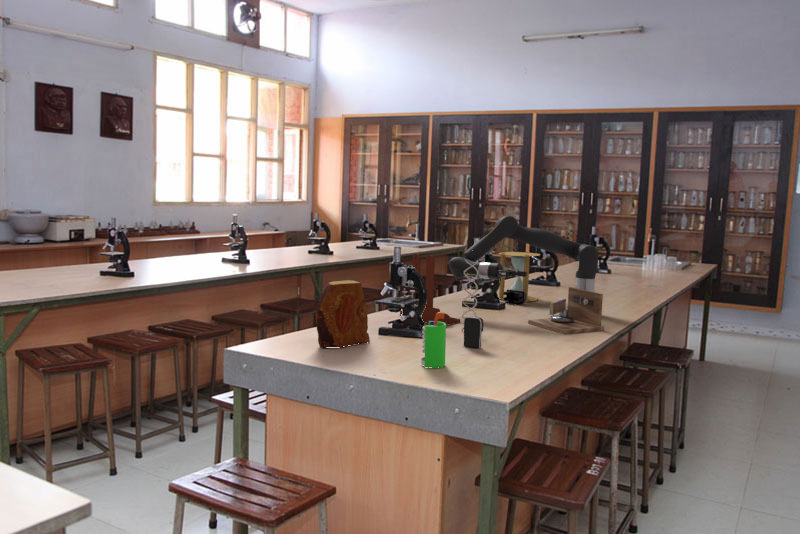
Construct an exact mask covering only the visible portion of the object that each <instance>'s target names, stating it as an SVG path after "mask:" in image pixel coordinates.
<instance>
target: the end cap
mask: <svg viewBox="0 0 800 534" xmlns="http://www.w3.org/2000/svg"><path fill="white" fill-rule="evenodd" d="M504 295H506V297H504V298H503V299H504V300H503V301H504V302H505V303H504V304H506V303H509V304H508V305H514V304H516V305H515V306H522V305H524V303H526V302H525V301H526V293H525V292H524V291H516V290H510V289H506V291H504ZM521 304H522V305H521Z"/></svg>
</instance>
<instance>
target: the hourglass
mask: <svg viewBox="0 0 800 534" xmlns="http://www.w3.org/2000/svg"><path fill="white" fill-rule="evenodd" d="M498 255H500V262H499V263H500V264H501V265H502V267H503V268H506V256H511V257H510V260H511V262H510V263H511V264H512V266H513V269H517V270H519V271H525V272H527V276H526V277H521V276H517V278H516V279H515V280H514V283H512V285H511V287H510V288H509V290H516V291H524V292H525V293H526V301H525V302H524V303H527V302H534V301H538V299H539V297H535V296H529V295H528V294H529V282H530V281H529V279H530V257H537V256H538V257H539V256H540V255H541V253H535V252H534V253H533V252H529V251H524V252H523V251H522V252H521V251H503V252H499V253H498ZM505 281H506V277H501V282H500V281H499V283H500V286H499V287H498V289H499V291H498V296H499V299H498V300H503V301H504V299H503V298H504V297H506V295H504V292H505V283H506V282H505Z"/></svg>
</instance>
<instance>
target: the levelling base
mask: <svg viewBox="0 0 800 534" xmlns="http://www.w3.org/2000/svg"><path fill="white" fill-rule="evenodd" d="M567 295H568V296H567V297H568V298H567V310H568V316H571V317H574V322H572V323H559V322H554V321H551V317H549V318H537V319H528V320H527V324H529V325H532V326H535V325H536V326H535V327H539V328H542V327H543V329H545V328H546V329H545V330H549V329H550V331H552V330H554V331H553V332H556V331H558V332H557V333H559V332H561V333H560V334H562V333H564V334H563V335H566V334H565V333H570V334H578V333H577V332H581V333H590V332H589V331H591V332H600V330H602V331H605V326H604V325H603V326H602V315H603V302H604V301H603V298H604V294H603V293H601V292H595V291H594V292H592V291H587V290H582V289H577V288H575V287H568V293H567Z"/></svg>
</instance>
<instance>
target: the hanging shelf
mask: <svg viewBox="0 0 800 534" xmlns="http://www.w3.org/2000/svg"><path fill="white" fill-rule="evenodd" d="M435 259H436V258H435V256H434V255H432V254H428V255H427V256H426V261H425V263H426V265H425V266H426V267H425V290H426V289H427V304H426V308H425V310H424V312H423V314H422V319H423V321H424V322H427V323H426V324H428V323H429V321H434V320H435V316H436V314H437V313H438V312H441V310H440V309H441V308H436V307H434V290H435V289H434V288H435V287H434V286H435V262H436V261H435ZM412 266H413V267H415V268H416V270H417V271H418V273H419V274H420V275H421V255H420V254H419V253H418V252H417V253H414V254H413V255H412ZM412 266H411V267H412ZM443 313H444V319H441V318H440V319H438V322H444V323H446V326H449V325H448V324H450V325H454V324H453V323H455V324H458V323H457V322H460V323H461V318H457V317H452V316H450V315H449V314H448V313H445V312H443ZM401 314H402V311H400V310H399V317H400V316H401Z"/></svg>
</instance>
